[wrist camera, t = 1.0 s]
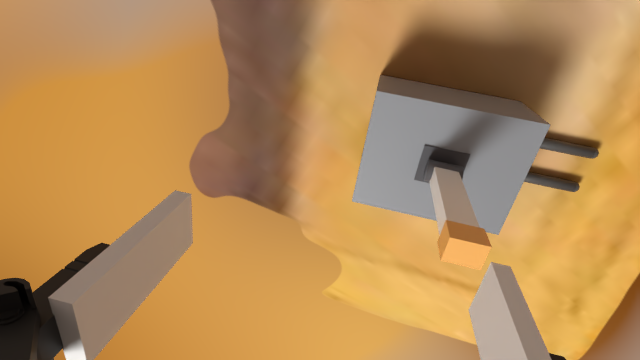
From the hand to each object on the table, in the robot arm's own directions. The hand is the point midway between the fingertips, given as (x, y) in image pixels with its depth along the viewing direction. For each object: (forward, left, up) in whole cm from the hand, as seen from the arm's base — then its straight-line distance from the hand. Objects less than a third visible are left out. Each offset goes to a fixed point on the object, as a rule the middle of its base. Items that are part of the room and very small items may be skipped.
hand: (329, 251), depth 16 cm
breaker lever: (-6, +9, -26) cm, 28 cm away
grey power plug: (-10, +12, -36) cm, 40 cm away
